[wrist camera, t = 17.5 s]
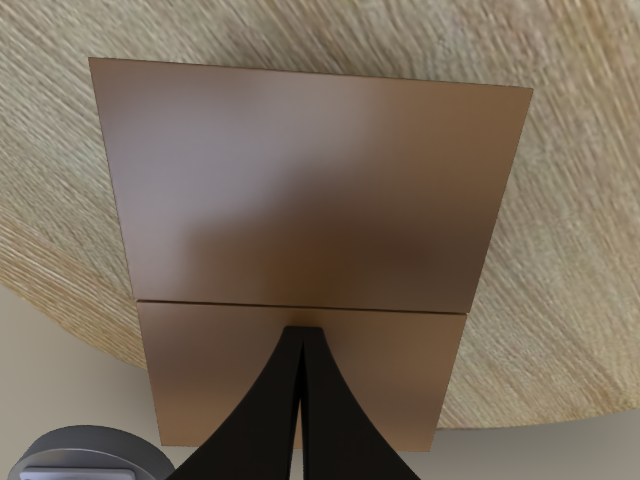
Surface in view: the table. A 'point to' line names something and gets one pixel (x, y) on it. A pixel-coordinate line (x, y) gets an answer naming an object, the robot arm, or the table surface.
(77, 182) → the table surface
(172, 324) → the flap
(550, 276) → the table surface
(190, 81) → the carton
